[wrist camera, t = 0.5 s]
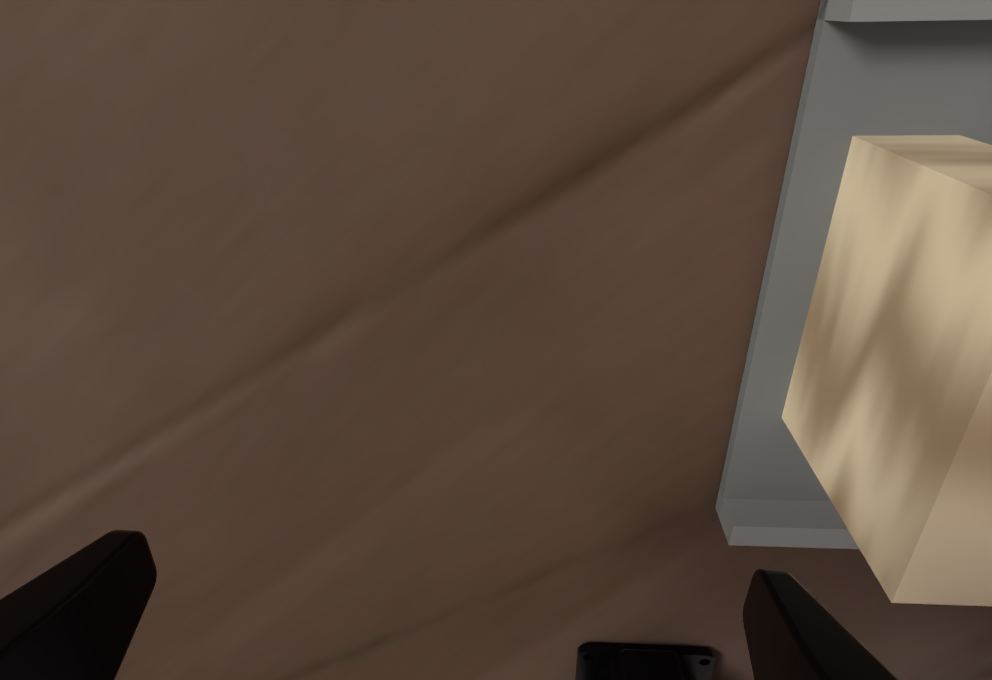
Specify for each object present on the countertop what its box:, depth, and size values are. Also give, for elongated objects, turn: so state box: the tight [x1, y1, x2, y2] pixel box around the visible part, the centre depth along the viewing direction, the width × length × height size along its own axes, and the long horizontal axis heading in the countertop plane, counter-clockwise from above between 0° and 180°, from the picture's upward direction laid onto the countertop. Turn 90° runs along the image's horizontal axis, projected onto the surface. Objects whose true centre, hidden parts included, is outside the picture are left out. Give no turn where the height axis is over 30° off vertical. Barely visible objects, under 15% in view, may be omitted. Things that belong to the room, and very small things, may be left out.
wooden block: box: [782, 135, 992, 606], centre depth 17 cm, size 10×3×8 cm, turn 1°
